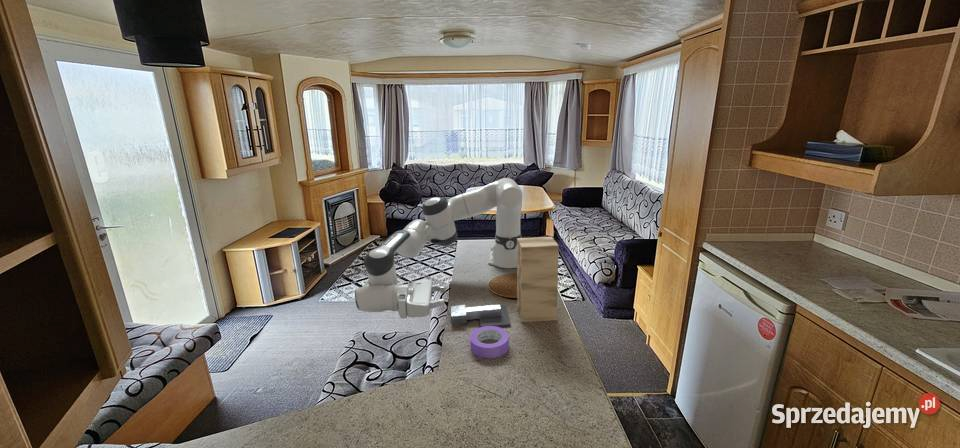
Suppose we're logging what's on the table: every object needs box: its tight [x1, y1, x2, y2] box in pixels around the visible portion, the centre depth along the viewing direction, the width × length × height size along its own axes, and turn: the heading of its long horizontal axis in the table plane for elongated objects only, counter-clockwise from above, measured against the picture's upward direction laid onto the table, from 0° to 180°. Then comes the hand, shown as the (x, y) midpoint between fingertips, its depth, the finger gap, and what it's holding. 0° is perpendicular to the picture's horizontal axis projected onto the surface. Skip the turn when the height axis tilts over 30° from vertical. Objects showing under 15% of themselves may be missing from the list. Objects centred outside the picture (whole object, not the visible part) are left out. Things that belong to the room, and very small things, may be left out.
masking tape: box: [469, 326, 510, 359], centre depth 119 cm, size 12×12×4 cm
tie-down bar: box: [450, 304, 501, 326], centre depth 134 cm, size 7×17×4 cm, turn 94°
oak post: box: [516, 236, 560, 323], centre depth 133 cm, size 9×12×27 cm
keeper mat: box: [479, 304, 511, 328], centre depth 136 cm, size 13×10×1 cm
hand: (445, 295), depth 132 cm, fingers open, 8 cm apart
